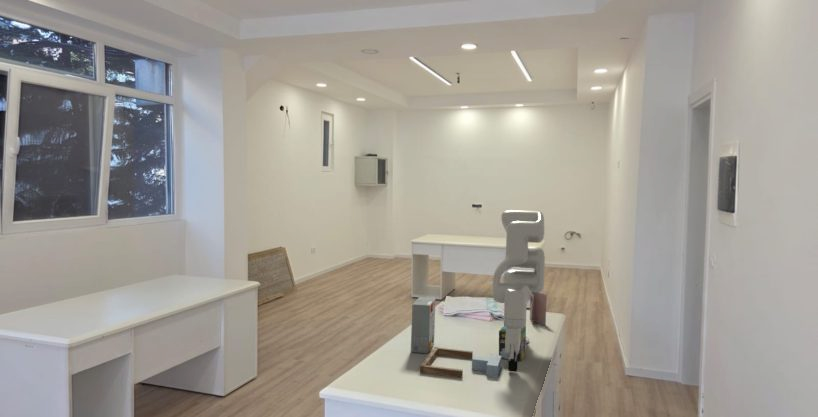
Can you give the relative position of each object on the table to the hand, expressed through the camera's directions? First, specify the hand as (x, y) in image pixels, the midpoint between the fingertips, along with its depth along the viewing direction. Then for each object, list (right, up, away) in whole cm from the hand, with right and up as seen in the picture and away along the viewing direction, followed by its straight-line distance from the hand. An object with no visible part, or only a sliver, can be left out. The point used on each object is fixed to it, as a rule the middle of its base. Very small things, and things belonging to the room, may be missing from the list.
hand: (512, 370), depth 196 cm
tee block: (-10, 0, +3) cm, 10 cm away
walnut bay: (-23, 0, +7) cm, 24 cm away
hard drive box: (-33, +1, +27) cm, 42 cm away
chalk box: (+3, 0, +18) cm, 18 cm away
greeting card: (+26, +3, +70) cm, 74 cm away
